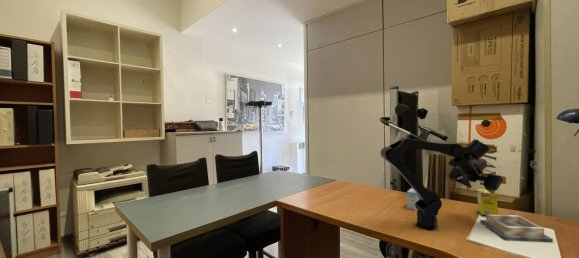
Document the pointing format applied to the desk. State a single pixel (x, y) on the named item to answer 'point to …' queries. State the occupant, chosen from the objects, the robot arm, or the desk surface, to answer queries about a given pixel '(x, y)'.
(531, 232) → the board
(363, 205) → the desk surface
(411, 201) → the medicine box
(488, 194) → the supplement box
